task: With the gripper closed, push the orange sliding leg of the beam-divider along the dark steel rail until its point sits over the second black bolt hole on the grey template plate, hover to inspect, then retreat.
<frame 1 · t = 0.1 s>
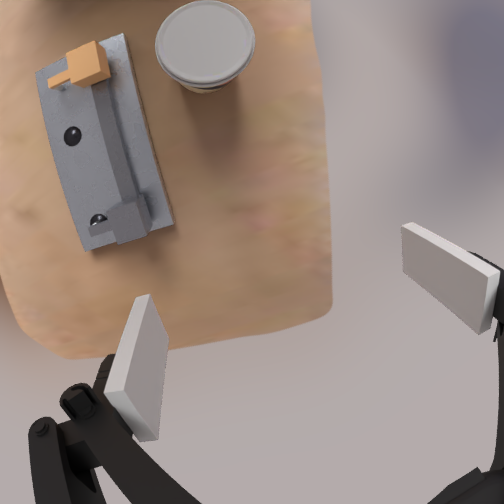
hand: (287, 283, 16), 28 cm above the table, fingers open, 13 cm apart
template plate: (101, 142, 37), on the table
sliding leg: (75, 73, 29), point 5 cm above the table, slide at 0.0 cm
coffee cup: (205, 65, 36), on the table
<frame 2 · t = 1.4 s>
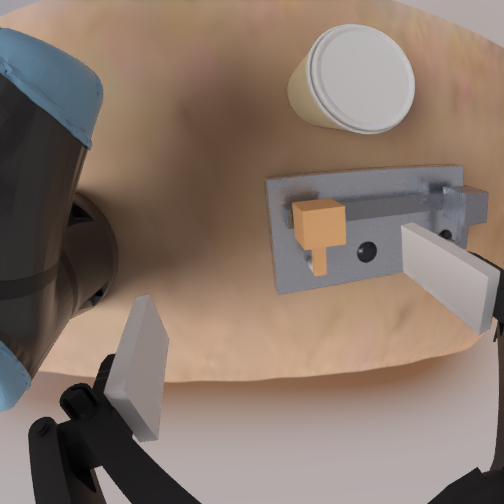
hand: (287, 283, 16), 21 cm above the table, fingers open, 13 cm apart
template plate: (374, 221, 37), on the table
sliding leg: (317, 241, 32), point 5 cm above the table, slide at 0.0 cm
coffee cup: (320, 93, 32), on the table
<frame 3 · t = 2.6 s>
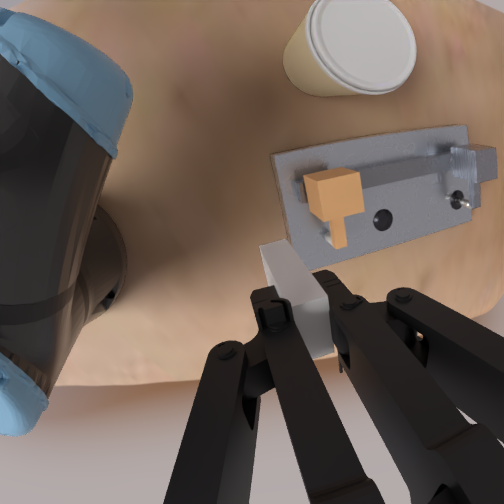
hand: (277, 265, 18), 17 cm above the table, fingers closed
template plate: (386, 188, 35), on the table
sliding leg: (333, 212, 30), point 5 cm above the table, slide at 0.0 cm
coffee cup: (316, 63, 30), on the table
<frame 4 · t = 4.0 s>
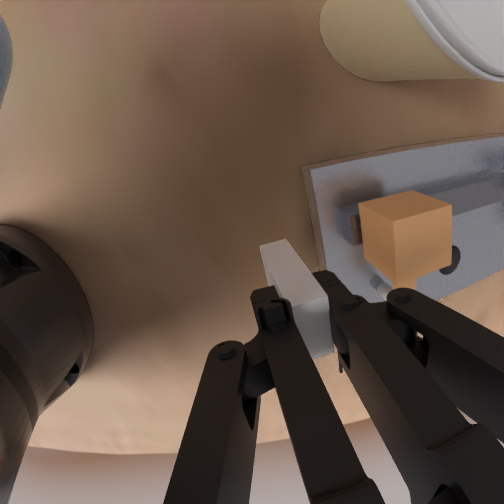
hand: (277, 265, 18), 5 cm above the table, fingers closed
template plate: (451, 214, 24), on the table
sliding leg: (400, 261, 19), point 5 cm above the table, slide at 0.0 cm
coffee cup: (367, 34, 18), on the table
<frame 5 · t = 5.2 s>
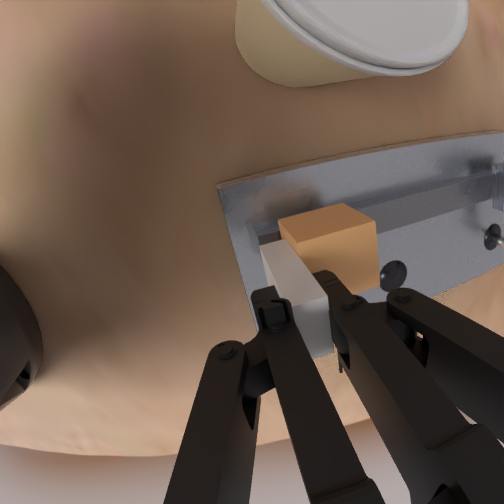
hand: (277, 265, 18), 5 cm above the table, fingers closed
template plate: (398, 225, 24), on the table
sliding leg: (328, 279, 19), point 5 cm above the table, slide at 0.8 cm, touching gripper
coffee cup: (291, 36, 18), on the table
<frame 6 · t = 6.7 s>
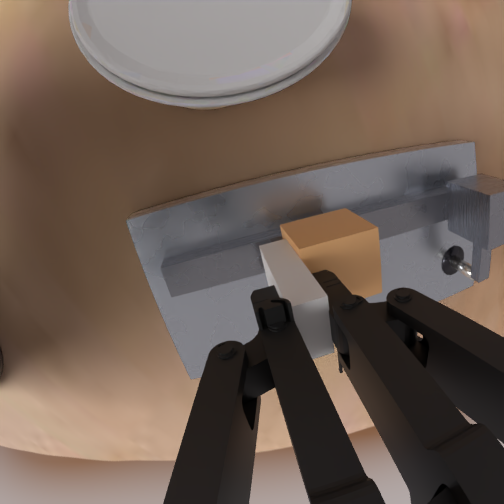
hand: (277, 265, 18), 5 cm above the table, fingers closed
template plate: (335, 250, 23), on the table
sliding leg: (330, 285, 18), point 5 cm above the table, slide at 6.7 cm, touching gripper
coffee cup: (207, 54, 18), on the table
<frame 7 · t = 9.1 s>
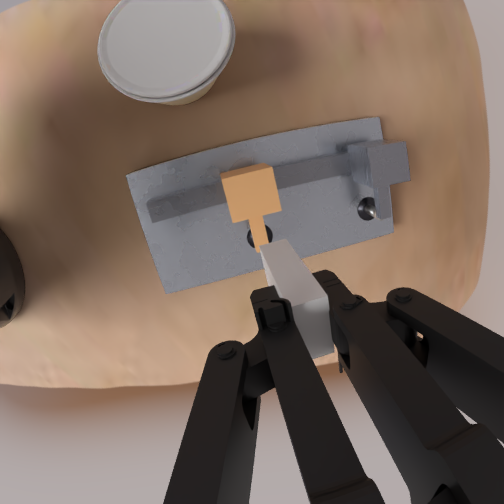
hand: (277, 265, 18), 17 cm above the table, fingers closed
template plate: (269, 199, 33), on the table
sliding leg: (253, 212, 28), point 5 cm above the table, slide at 6.7 cm
coffee cup: (179, 69, 28), on the table
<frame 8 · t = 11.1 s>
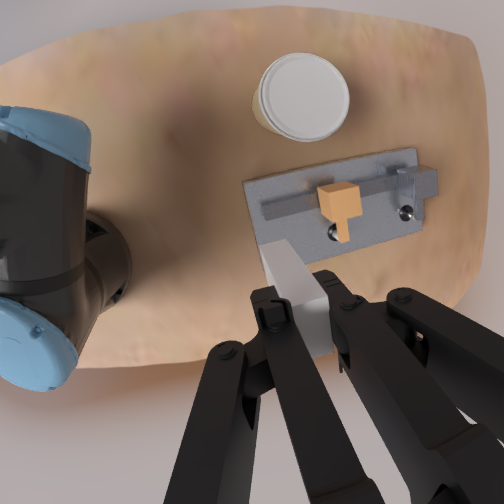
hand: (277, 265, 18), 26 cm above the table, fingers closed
template plate: (340, 205, 45), on the table
sliding leg: (339, 215, 40), point 5 cm above the table, slide at 6.7 cm
coffee cup: (280, 105, 39), on the table
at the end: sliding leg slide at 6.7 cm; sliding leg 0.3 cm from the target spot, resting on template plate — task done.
